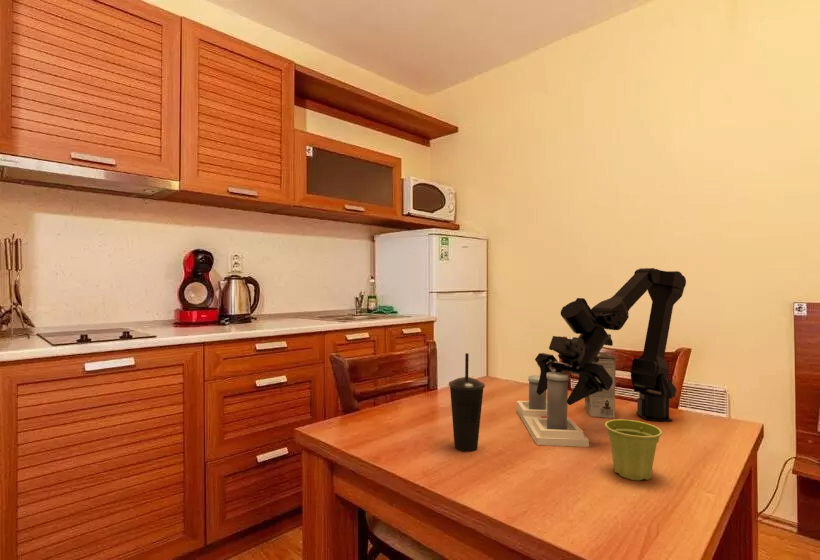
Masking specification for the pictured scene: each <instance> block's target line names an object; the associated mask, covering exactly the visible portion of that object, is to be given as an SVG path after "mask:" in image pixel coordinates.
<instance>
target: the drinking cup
mask: <svg viewBox="0 0 820 560" xmlns="http://www.w3.org/2000/svg"><path fill="white" fill-rule="evenodd" d="M469 356H470V355H469V353H467V352H466V353H465V356H464V357H465V358H464V359H465V362H464V364H465V366H464V369H465V371H464V372H465V373H464V376H463V377H462V376H461V377H458V378H455V379H453V380H450V381H448V387H449V393H450V403H451V404H450V405H451V418H452V419H451V420H452V430H453V431H452V432H453V442H454V449H456V450H457V451H459V452H465V453H466V452H467V453H469V452H475V451H477V450H478V446H479V437H480V436H479V435H480V426H481V425H480V424H481V416H482V415H481V414H482V405H483V404H482V403H483V395H484V388H485V387H486V384H485V382H482V381H480V380H479V379H477V378H474V377H469V361H470V360H469V358H470V357H469Z"/></svg>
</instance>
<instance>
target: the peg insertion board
mask: <svg viewBox="0 0 820 560" xmlns="http://www.w3.org/2000/svg"><path fill="white" fill-rule="evenodd" d="M539 379H540V375H536V374H535V375H528V379H527V381H528V400H517V401H516V413H517V412H518V413H517V414H518V416H519V417H521V418H520V419H521V421H522V422H523V424H524V426H525V428H526V429H527V431H528V432H529V434H530V436H531V437H532V439H533V441H534V442H535V444H536V445H537V446H553V447H557V446H558V447H559V446H560V447H583V448H584V447H585V448H589V447H590V445H589V444H590V440H589V438H587V436H586V435H585V434H584V431H583V430H582V429H581V427H579V426H578V425H577V424H576V423H575V421H574V420H573V419H571V418H569V417H568V416H567V430H556V429H547V390H546V391H544V392H543V393H542V394H541V395H538V394H537V392H536V391H537V387H538V383H539Z"/></svg>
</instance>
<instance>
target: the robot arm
mask: <svg viewBox="0 0 820 560" xmlns="http://www.w3.org/2000/svg"><path fill="white" fill-rule="evenodd" d="M686 284H687V279H686V277H685V276H684V275H683V274H682V272H680V271H677V270H672V271H671V270H668V271H667V270H661V269H658V268H654V267H647V268H645V267H644V268H642V267H641V268H638V269H636V270H635V271H634V274H633V275H632V276H631V277H630V278H629V280H627V281H626V283H624V284H623V286H621V287H620V288H619V289H618V290H617V292H615V293H614V295H612V296H611V297H610V298H607V299H604V300H603V301H600V302H598V303H597V304H595V305H594V306H593V307H592V308H591V307H590V305H589V304H588V301H587V300H586V299H585V298H581V297H577V298H576V299H575V300H573V301H571V302H569V303H568V304H566V305H564V306H563V307H562V308H561V310H560V317H561V318H562V319H563V320H564V321H565V323H566V324H567V325H568V326H569V329H571V331H572V332H573V333H574V334H577V335H579V336H578V337H575V336H574V337H572V338H567V337H565V336H564V337H561V336H558V335H557V336H556V335H553V336H552V338H551V341H550V343H549V346H548V349H549V351H550V350H551V351H553V352H555V353H557V354H558V355H557V357H558V358H559V360H561V362H560V361H558V359H557V358H556V357H555V356H554V354H549V353H545V352H539V353H538V355H537V356H536V358H535V359H534V361H535V362H536V364H537V366H538V367H539V370H540V373H539V376H540V379H539V383H538V387H537V391H536V392H537V394H538V395H541V394H542V393H543V392H544V391H546V392H547V373H548V372H562V373H566V374H572V375H576V376H578V381H577V383H576V384H575V386H574V387H573V389H572V391H571V393H570V394H569V395H568V400H567V406H572V405H573V404H575V403H577V402H579V401H581V400H584V399H585V397H587V396H589V395H592V394H594V393H596V392H602V391H603V389H604V390H609V389H610V387H611V386H612V384H613V379H612V377H611V376H610V375H609V373H608V372H607V371H606V369H605V368H604V366H603V365H599V364H594V363H593V362H595V363H597V362H598V361H599V359H598V357H597V355H598V354H599V352H601V350H602V349H603V347H604V346H608V347H609V346H610V347H612V346H614V345H613V344H614V341H613V339H612V334H609V333H607V330H611V331H620V330H621V329H622V328H624V325H625V324H626V322H627V320H628V319H629V311H630V310H631V309H632V307H633V306H634V305H635V304H637V302H638V301H639V300H640V299H641V297H642V296H643V295H645V294H646V292H647V293H648V296H649V298H650V299H651V307H650V313H649V318H648V323H647V329H646V335H645V340H644V346H643V351H642V354H640V356H639V357H638V358H636V357H634V358H633V359H632V364H631V369H630V371H629V374H630V381H631V384H632V389H633V391H634V392H637V393H639V394H638V397H637V402H636V403H637V404H636V406H637V407H636V409H637V411H636V413H635V414H637V415H638V416H640V417H641V418H643V419H645V421H653V422H654V421H657V422H658V421H659V422H661V421H662V422H663V421H664V422H673V418H672V417H670V400H671V399H674V398H675V397H676V394H677V388H676V386H675V385H674V384H673V382H672V380H671V379H670V376H669V375H670V369H669V367H668V365H667V362H666V359H665V355H666V349H667V343H668V337H669V331H670V328H671V327H670V326H671V321H672V315H673V309H674V305H675V304H676V303H677V302H678V301H679V300H680V299H681V298H682V296H683V294H684V290H685V287H686Z"/></svg>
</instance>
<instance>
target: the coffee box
mask: <svg viewBox="0 0 820 560" xmlns="http://www.w3.org/2000/svg"><path fill="white" fill-rule="evenodd" d="M597 357H598V359H599V361H598V362H597V363H595V362H593V363H594V364H599V365H603V366H604V368H605V369H606V371H607V372H608V373H609V375H610V376H611V377H612V379H613V384H612V386H611V387H610V389H609V390H604V389H603V391H602V392H596V393H594V394H592V395H589V396H587V397H585V398H584V408H585V410H586V411H587V413H588V414H589V416H590V417H592V418H606V419H607V418H608V419H615V418H616V367H617V366H616V364H617V362H616V360H617V358H616V357H615V356H613V355H612V354H611V353H610V352H607V351H603V352H602V351H600V352H599V354H598V355H597Z"/></svg>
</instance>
